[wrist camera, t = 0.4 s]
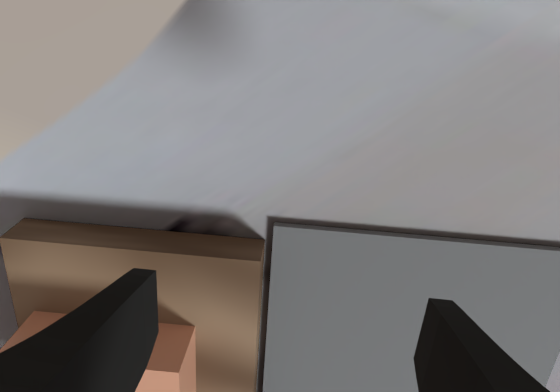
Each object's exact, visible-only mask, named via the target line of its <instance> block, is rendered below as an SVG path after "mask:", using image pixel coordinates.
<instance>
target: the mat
mask: <svg viewBox="0 0 560 392" xmlns="http://www.w3.org/2000/svg"><path fill="white" fill-rule="evenodd" d="M429 298H435V299H445V300H453V301H454V302H455V303H456V304H457V305H458V306H459V307H460V308H461V309H462V310H463V311H464V312H465V313H466V314H467V315H468V316H469V317H470V318H471V319H472V320H473V321H474V322H475V323H476V324H477V325H478V326H479V327H480V328H481V329H482V330H483V331H484V332H485V333H486V334H487V335H488V336H489V337H490V338H491V339H492V340H493V341H494V342H495V343H496V344H497V345H498V346H500V347H501V348H502V349H503V350H504V351H505V352H506V353H507V354H508V355H509V356H510V357H511V358H512V359H513V360H514V361H515V362H517V363H518V364H519V365H520V366H521V367H522V368H523V369H524V370H525V371H527V372H528V373H529V374H530V375H531V376H532V377H533V378H535V379H536V380H537V381H538V382H539V383H540V384H542V385H543V386H544V387H545V386H546V384H547V381H548V379H549V376H550V374H551V371H552V369H553V366H554V364H555V361H556V359H557V356H558V354H559V352H560V247H553V246H541V245H530V244H518V243H507V242H496V241H484V240H473V239H461V238H450V237H438V236H427V235H416V234H404V233H393V232H381V231H370V230H359V229H347V228H336V227H324V226H313V225H301V224H290V223H279V222H274V228H273V243H272V258H271V273H270V288H269V303H268V318H267V333H266V348H265V363H264V379H263V392H419V391H418V385H417V379H416V372H415V366H414V359H413V358H414V354H415V350H416V346H417V342H418V338H419V334H420V330H421V326H422V322H423V319H424V315H425V311H426V307H427V303H428V299H429Z"/></svg>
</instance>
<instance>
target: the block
mask: <svg viewBox="0 0 560 392" xmlns="http://www.w3.org/2000/svg"><path fill="white" fill-rule="evenodd" d="M65 315H67V314H62V313H52V312H42V311H33V313H32V314H31V315H30V316H29V317H28V318H27V319H26V321H25V322H24V323H23V324H22V325H21V326H20V327H19V329H18V330H17V331H16V332H15V333H14V334H13V336H12V337H11V338H10V339H9V340H8V341H7V342H6V344H5V345H4V346H3V347H2V348H1V349H0V353H1V352H3V351H5V350H7V349H9V348H10V347H12V346H14V345H16V344H18V343H20V342H22V341H24V340H26V339H27V338H29V337H31V336H33V335H34V334H36V333H38V332H40V331H41V330H43V329H45V328H46V327H48V326H49V325H51V324H52V323H54V322H56V321H57V320H59V319H60V318H62V317H63V316H65ZM158 325H159V332H158V335H157V338H156V341H155V345H154V348H153V351H152V354H151V356H150V359H149V362H148V365H147V367H146V370H145V372H144V374H143V376H142V378H141V380H140V382H139V384H138V386H137V388H136V391H135V392H196V343H195V326H188V325H177V324H167V323H158Z"/></svg>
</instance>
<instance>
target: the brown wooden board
mask: <svg viewBox="0 0 560 392" xmlns="http://www.w3.org/2000/svg"><path fill="white" fill-rule="evenodd" d="M0 245H1V249H2V254H3V259H4V263H5V268H6V273H7V278H8V282H9V287H10V292H11V296H12V301H13V306H14V310H15V315H16V320H17V325H18V329H19V327H20V326H21V325H22V324H23V323H24V322H25V321H26V319H27V318H28V317H29V316H30V315H31V314H32V313H33V311H42V312H52V313H62V314H68V313H70V312H71V311H73V310H75V309H76V308H78V307H79V306H80V305H82V304H83V303H85V302H86V301H88V300H89V299H90V298H92V297H93V296H95V295H96V294H98V293H99V292H101V291H102V290H103V289H105V288H106V287H107V286H109V285H110V284H112V283H113V282H114V281H116V280H117V279H119V278H120V277H121V276H123V275H124V274H126V273H127V272H128V271H130V270H131V269H133V268H139V269H149V270H156V276H157V300H158V323H167V324H177V325H188V326H195V343H196V392H256V383H257V366H258V349H259V332H260V315H261V297H262V280H263V263H264V246H265V240H264V239H253V238H241V237H230V236H219V235H208V234H196V233H185V232H174V231H163V230H151V229H140V228H129V227H118V226H106V225H95V224H84V223H73V222H61V221H50V220H39V219H28V218H24V219H22V220H21V221H20V222H19V223H17V224H16V225H15V226H14V227H12V228H11V229H10V230H8V231H7V232H6V233H5V234H3V235H2V236H1V237H0Z"/></svg>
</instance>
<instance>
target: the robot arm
mask: <svg viewBox="0 0 560 392" xmlns="http://www.w3.org/2000/svg"><path fill="white" fill-rule="evenodd" d="M158 332H159V325H158V300H157V276H156V270H149V269H139V268H133V269H131V270H130V271H128V272H127V273H126V274H124V275H123V276H121V277H120V278H119V279H117V280H116V281H114V282H113V283H112V284H110V285H109V286H107V287H106V288H105V289H103V290H102V291H101V292H99V293H98V294H96V295H95V296H93V297H92V298H90V299H89V300H88V301H86V302H85V303H83V304H82V305H80V306H79V307H78V308H76V309H75V310H73V311H71V312H70V313H68V314H67V315H65V316H63V317H62V318H60V319H59V320H57V321H56V322H54V323H52V324H51V325H49V326H48V327H46V328H45V329H43V330H41V331H40V332H38V333H36V334H34V335H33V336H31V337H29V338H27V339H26V340H24V341H22V342H20V343H18V344H16V345H14V346H12V347H10V348H9V349H7V350H5V351H3V352H1V353H0V392H135V391H136V388H137V386H138V384H139V382H140V380H141V378H142V376H143V374H144V372H145V370H146V367H147V365H148V362H149V359H150V356H151V354H152V351H153V348H154V345H155V341H156V338H157V335H158ZM413 359H414V366H415V372H416V379H417V385H418V391H419V392H550V391H549V390H547V389H546V388H545V387H544V386H543V385H542V384H540V383H539V382H538V381H537V380H536V379H535V378H533V377H532V376H531V375H530V374H529V373H528V372H527V371H525V370H524V369H523V368H522V367H521V366H520V365H519V364H518V363H517V362H515V361H514V360H513V359H512V358H511V357H510V356H509V355H508V354H507V353H506V352H505V351H504V350H503V349H502V348H501V347H500V346H498V345H497V344H496V343H495V342H494V341H493V340H492V339H491V338H490V337H489V336H488V335H487V334H486V333H485V332H484V331H483V330H482V329H481V328H480V327H479V326H478V325H477V324H476V323H475V322H474V321H473V320H472V319H471V318H470V317H469V316H468V315H467V314H466V313H465V312H464V311H463V310H462V309H461V308H460V307H459V306H458V305H457V304H456V303H455V302H454V301H453V300H445V299H435V298H429V299H428V303H427V307H426V311H425V315H424V319H423V322H422V326H421V330H420V334H419V338H418V342H417V346H416V350H415V354H414V358H413Z"/></svg>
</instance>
